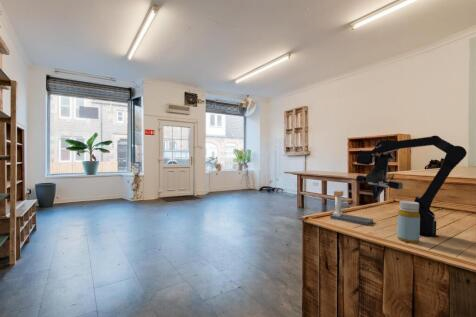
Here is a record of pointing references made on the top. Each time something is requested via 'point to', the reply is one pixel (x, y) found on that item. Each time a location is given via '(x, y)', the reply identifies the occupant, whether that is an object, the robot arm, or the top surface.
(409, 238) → the bottle
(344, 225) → the top surface
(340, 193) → the fader knob
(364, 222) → the console
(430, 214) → the robot arm
